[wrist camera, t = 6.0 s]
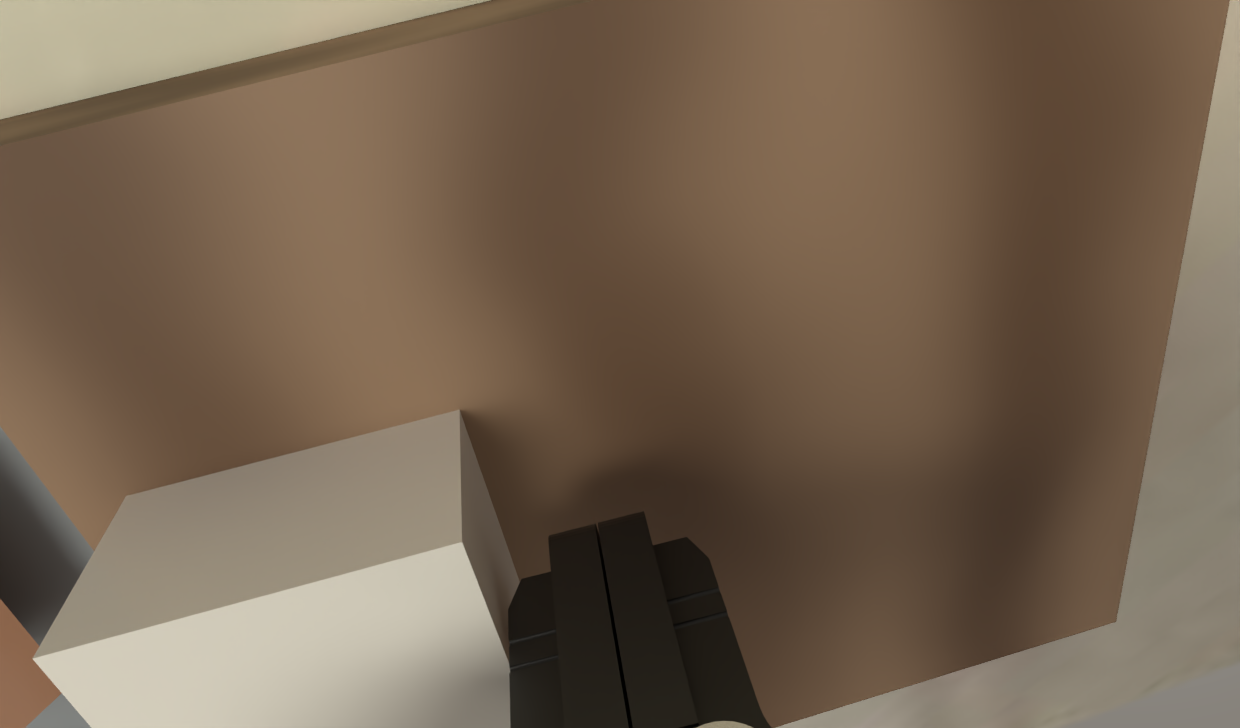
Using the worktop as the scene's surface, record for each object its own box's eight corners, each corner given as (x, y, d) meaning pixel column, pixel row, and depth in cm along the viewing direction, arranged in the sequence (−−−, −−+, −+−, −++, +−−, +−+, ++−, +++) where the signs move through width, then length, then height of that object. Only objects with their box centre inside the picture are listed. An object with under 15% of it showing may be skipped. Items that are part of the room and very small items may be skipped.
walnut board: (1072, -141, 13) (1259, -163, 10) (1018, 521, 21) (1115, 621, 18) (-20, 124, 12) (-179, 189, 9) (348, 721, 20) (330, 865, 17)
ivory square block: (459, 409, 12) (462, 542, 9) (536, 630, 14) (555, 783, 12) (126, 495, 11) (32, 658, 9) (265, 707, 14) (224, 882, 11)
